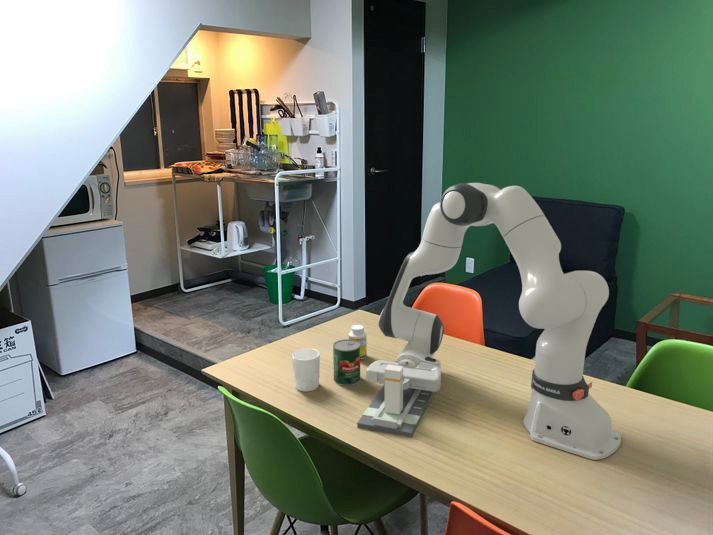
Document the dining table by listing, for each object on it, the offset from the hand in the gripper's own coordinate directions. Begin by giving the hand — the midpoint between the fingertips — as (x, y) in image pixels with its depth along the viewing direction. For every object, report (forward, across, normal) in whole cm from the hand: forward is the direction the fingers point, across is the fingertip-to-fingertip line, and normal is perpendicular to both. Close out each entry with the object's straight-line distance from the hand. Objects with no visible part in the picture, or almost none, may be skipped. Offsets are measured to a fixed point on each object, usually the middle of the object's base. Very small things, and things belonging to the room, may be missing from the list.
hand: (395, 389), depth 148 cm
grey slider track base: (-2, 0, +7) cm, 7 cm away
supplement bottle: (-29, -21, +7) cm, 37 cm away
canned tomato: (-14, -19, +7) cm, 25 cm away
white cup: (-6, -28, +7) cm, 30 cm away
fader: (+1, 0, +5) cm, 6 cm away
